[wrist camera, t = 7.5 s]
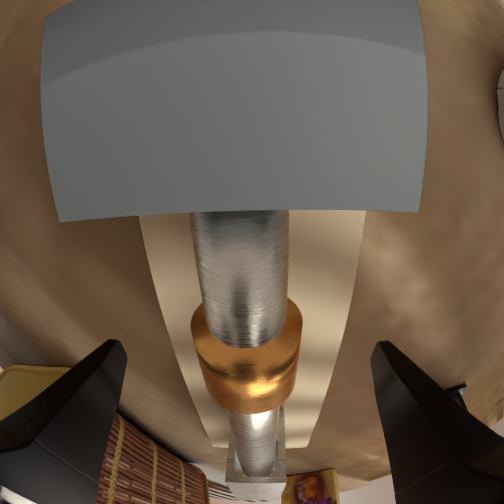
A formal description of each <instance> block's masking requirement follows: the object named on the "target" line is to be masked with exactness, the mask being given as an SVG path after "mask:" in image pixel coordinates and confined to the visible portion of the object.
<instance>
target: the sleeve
mask: <svg viewBox="0 0 504 504" xmlns="http://www.w3.org/2000/svg"><path fill="white" fill-rule="evenodd" d="M272 470H274V477H243V472H242V469H241V466H240V463H239V459H238V456H237V452H236V449H235V445H234V442H233V438H232V434H231V430H230V435H229V445H228V456H227V467H226V478H225V483H226V484H227V486H228V487H229V489H230V490H231V492H232V493H233V495H234V496H235V498H236V499H241V500H279V499H280V498H281V495H282V493H283V490H284V488H285V485H286V446H285V418H284V408H280V409H279V419H278V429H277V439H276V448H275V456H274V465H273V469H272Z"/></svg>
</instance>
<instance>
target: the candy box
mask: <svg viewBox="0 0 504 504" xmlns="http://www.w3.org/2000/svg"><path fill="white" fill-rule="evenodd" d="M281 500H282V504H340V503H339V493H338V484H337V475H336V472H335V471H334V469H329V470H323V471H319V472H313V473H308V474H301V475H294V476H287V477H286V485H285V488H284V490H283V493H282V495H281Z"/></svg>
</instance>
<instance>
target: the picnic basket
mask: <svg viewBox="0 0 504 504" xmlns="http://www.w3.org/2000/svg"><path fill="white" fill-rule="evenodd" d="M70 369H71V368H70V367H53V366H34V365H20V364H18V365H13V366H11V367H8V368H7V369H5V370H4V371H3V372H1V373H0V421H1V420H2V419H4V418H5V417H7V416H9V415H10V414H12V413H13V412H15V411H16V410H18V409H19V408H21V407H22V406H24V405H25V404H26V403H28V402H29V401H31V400H32V399H33V398H35V397H36V396H37V395H38V394H40V393H41V392H42V391H45V389H46V388H47V387H48V386H50V385H51V384H52V383H53V382H55V381H56V380H57V379H59V378H60V377H61V376H62V375H64V374H65V373H66V372H67V371H69V370H70ZM95 504H210V499H209V490H208V481H207V478H206V475H205V474H204V473H203V471H202V470H201V469H200V468H198V467H196V466H194V465H193V464H190V463H185V462H183V461H182V460H180V459H179V458H177V457H176V456H174V455H172V454H171V453H169V452H168V451H166V450H165V449H163V448H162V447H161V446H159V445H158V444H156V443H155V442H153V441H152V440H151V439H149V438H148V437H147V436H145V435H144V434H143V433H141V432H140V431H139V430H137V429H136V428H135V427H134V426H132V425H131V424H130V423H129V422H127V421H126V420H125V419H124V418H123V417H121V416H120V415H119V414H118V413H117V412H116V413H115V417H114V420H113V424H112V428H111V432H110V436H109V440H108V444H107V448H106V452H105V457H104V461H103V466H102V470H101V475H100V480H99V486H98V492H97V497H96V503H95Z"/></svg>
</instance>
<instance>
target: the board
mask: <svg viewBox="0 0 504 504" xmlns="http://www.w3.org/2000/svg"><path fill="white" fill-rule="evenodd" d="M365 215H366V211H362V210H290V243H289V272H288V295H287V297H288V298H289V299H291V300H292V301H293V302H294V303H295V304H296V305H297V307H298V308H299V310H300V312H301V314H302V318H303V326H302V335H301V343H300V351H299V359H298V366H297V373H296V380H295V386H294V388H293V391H292V393H291V394H290V396H289V397H288V398H287V399H286V400H285V401H284V402H283V403H282V404H281V405H280V408H284V418H285V446H286V448H300V447H307V445H308V443H309V440H310V437H311V435H312V432H313V430H314V427H315V424H316V422H317V419H318V416H319V413H320V410H321V407H322V405H323V402H324V399H325V396H326V392H327V389H328V386H329V383H330V380H331V377H332V373H333V370H334V366H335V363H336V360H337V356H338V352H339V349H340V345H341V341H342V337H343V333H344V329H345V325H346V321H347V317H348V312H349V308H350V303H351V299H352V294H353V289H354V284H355V279H356V274H357V268H358V262H359V257H360V250H361V244H362V237H363V230H364V223H365ZM139 221H140V226H141V231H142V235H143V240H144V245H145V249H146V254H147V258H148V262H149V266H150V270H151V274H152V278H153V282H154V286H155V290H156V293H157V297H158V300H159V304H160V307H161V311H162V314H163V318H164V321H165V324H166V327H167V331H168V334H169V337H170V340H171V343H172V346H173V349H174V352H175V355H176V358H177V360H178V363H179V366H180V369H181V372H182V374H183V377H184V380H185V382H186V385H187V387H188V390H189V393H190V395H191V398H192V400H193V403H194V405H195V407H196V410H197V412H198V415H199V417H200V419H201V422H202V424H203V426H204V428H205V431H206V433H207V435H208V437H209V439H210V441H211V444H212V446H213V447H223V448H228V445H229V435H230V426H229V423H228V419H227V415H226V411H225V408H223V407H221V406H220V405H218V404H217V403H216V402H215V401H214V400H213V399H212V398H211V396H210V395H209V393H208V391H207V388H206V385H205V381H204V378H203V375H202V371H201V367H200V364H199V360H198V357H197V353H196V349H195V345H194V341H193V337H192V333H191V328H190V323H191V318H192V316H193V313H194V312H195V310H196V309H197V307H198V306H199V305H200V304H201V303H202V296H201V290H200V285H199V278H198V272H197V266H196V260H195V253H194V246H193V239H192V232H191V224H190V217H189V213H171V214H154V215H139Z"/></svg>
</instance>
